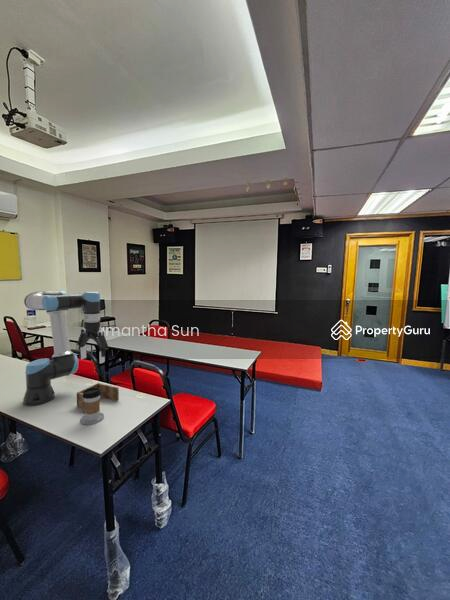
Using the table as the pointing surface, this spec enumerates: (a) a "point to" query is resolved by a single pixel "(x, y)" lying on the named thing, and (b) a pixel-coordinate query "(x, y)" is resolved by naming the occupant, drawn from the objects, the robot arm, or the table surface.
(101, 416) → the coaster
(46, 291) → the robot arm
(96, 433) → the table surface
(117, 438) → the table surface
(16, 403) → the table surface
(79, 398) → the wooden c-shaped bracket
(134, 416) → the table surface
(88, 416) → the coffee cup
